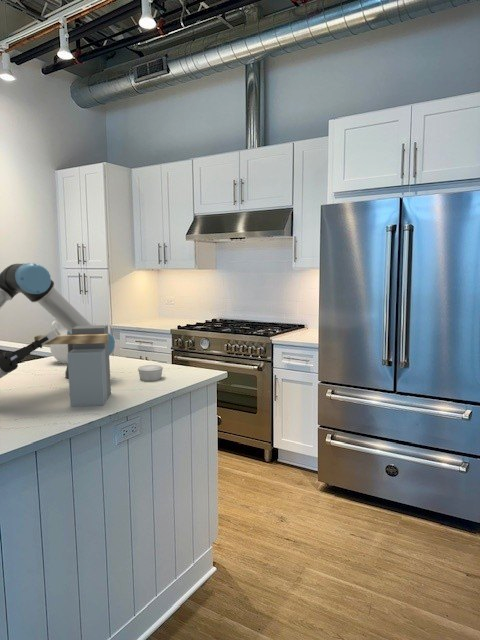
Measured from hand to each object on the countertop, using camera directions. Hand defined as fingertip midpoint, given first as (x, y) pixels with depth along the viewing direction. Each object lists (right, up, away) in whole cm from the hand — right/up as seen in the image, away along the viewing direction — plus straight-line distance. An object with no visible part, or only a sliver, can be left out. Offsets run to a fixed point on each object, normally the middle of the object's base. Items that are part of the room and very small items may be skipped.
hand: (57, 332), depth 171 cm
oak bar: (+5, -4, +1) cm, 7 cm away
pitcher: (-24, -18, +78) cm, 84 cm away
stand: (+10, -26, +8) cm, 29 cm away
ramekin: (+27, -23, +40) cm, 53 cm away
